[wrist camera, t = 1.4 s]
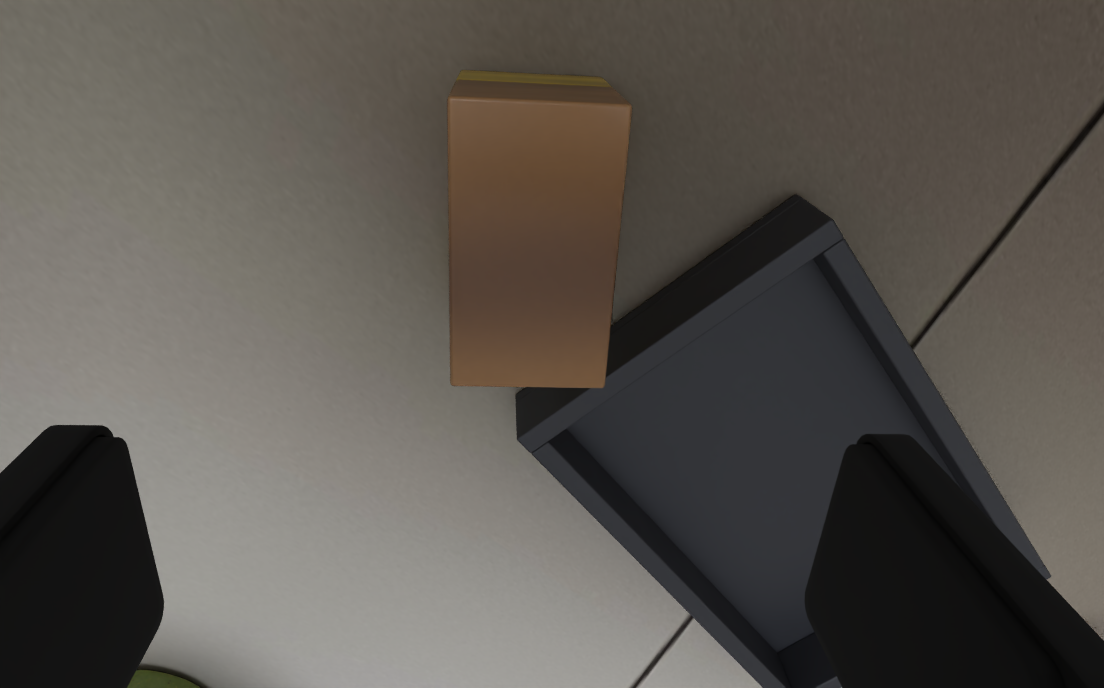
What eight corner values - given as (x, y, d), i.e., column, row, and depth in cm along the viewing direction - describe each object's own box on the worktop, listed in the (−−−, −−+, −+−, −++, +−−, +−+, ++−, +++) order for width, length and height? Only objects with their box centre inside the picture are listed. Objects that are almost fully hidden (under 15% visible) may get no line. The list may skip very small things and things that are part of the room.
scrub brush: (460, 69, 23) (446, 95, 17) (602, 76, 23) (632, 104, 18) (460, 304, 26) (450, 387, 21) (584, 307, 26) (604, 389, 21)
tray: (514, 394, 28) (516, 439, 25) (796, 192, 25) (833, 218, 22) (766, 658, 35) (789, 715, 33) (1005, 526, 33) (1052, 577, 30)
